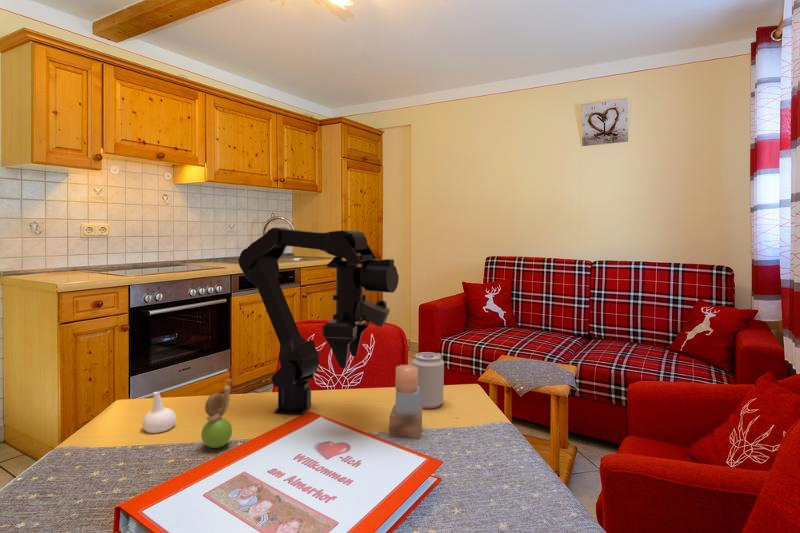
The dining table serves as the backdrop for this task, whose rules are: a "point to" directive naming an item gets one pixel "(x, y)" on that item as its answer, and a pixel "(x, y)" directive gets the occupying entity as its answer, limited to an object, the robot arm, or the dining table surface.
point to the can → (430, 379)
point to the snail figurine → (217, 420)
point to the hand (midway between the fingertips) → (348, 361)
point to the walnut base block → (405, 425)
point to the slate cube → (407, 403)
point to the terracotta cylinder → (406, 378)
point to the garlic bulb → (159, 417)
